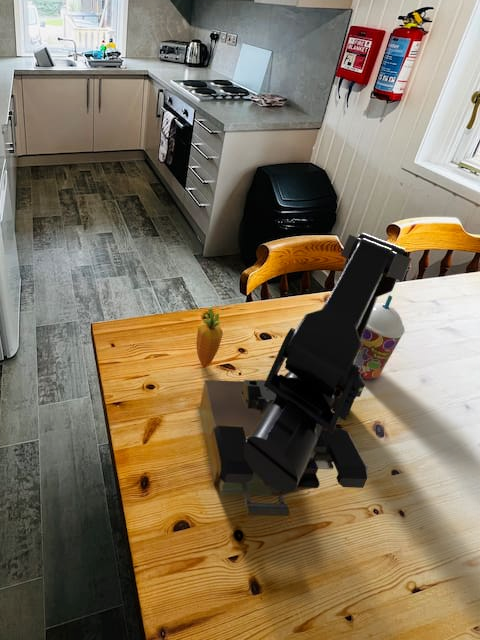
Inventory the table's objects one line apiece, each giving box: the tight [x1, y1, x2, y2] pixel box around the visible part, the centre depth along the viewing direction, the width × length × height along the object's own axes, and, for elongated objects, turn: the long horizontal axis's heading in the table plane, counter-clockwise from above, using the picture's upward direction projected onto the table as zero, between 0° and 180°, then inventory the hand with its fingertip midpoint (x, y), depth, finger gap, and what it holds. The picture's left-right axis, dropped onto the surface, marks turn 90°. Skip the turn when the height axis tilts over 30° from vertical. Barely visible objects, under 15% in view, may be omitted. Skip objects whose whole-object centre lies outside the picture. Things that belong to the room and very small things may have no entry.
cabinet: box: [198, 379, 260, 486], centre depth 68 cm, size 13×12×8 cm
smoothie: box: [359, 294, 406, 380], centre depth 83 cm, size 8×8×20 cm
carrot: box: [195, 306, 224, 368], centre depth 82 cm, size 5×5×15 cm
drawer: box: [218, 471, 291, 517], centre depth 64 cm, size 16×10×6 cm, turn 0°
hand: (273, 491), depth 55 cm, fingers closed
